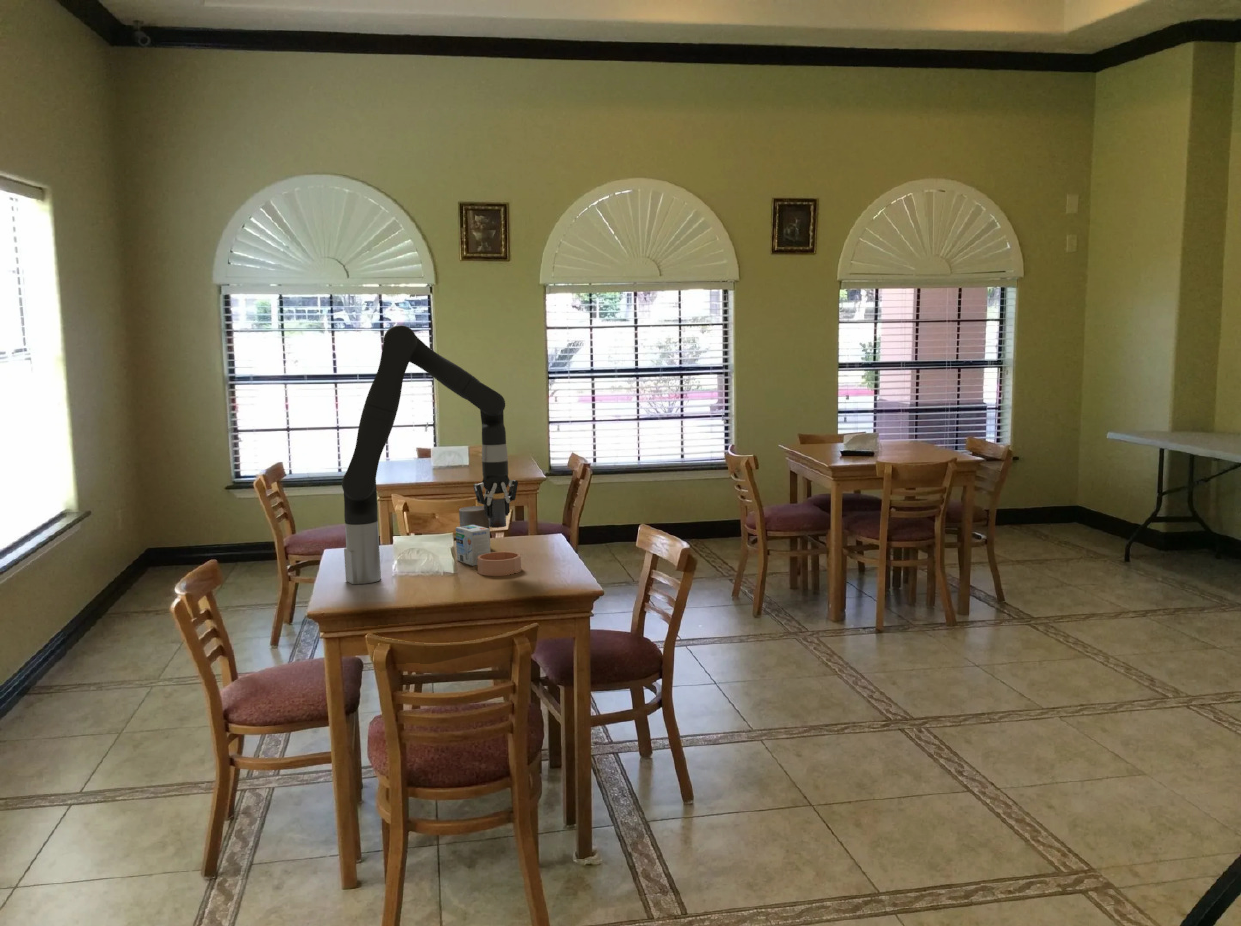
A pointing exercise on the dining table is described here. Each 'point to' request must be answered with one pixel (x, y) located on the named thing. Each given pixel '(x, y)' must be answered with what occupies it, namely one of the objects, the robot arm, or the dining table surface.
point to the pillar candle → (473, 516)
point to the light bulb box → (472, 543)
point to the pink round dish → (499, 563)
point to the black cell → (498, 511)
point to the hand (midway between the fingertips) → (497, 516)
